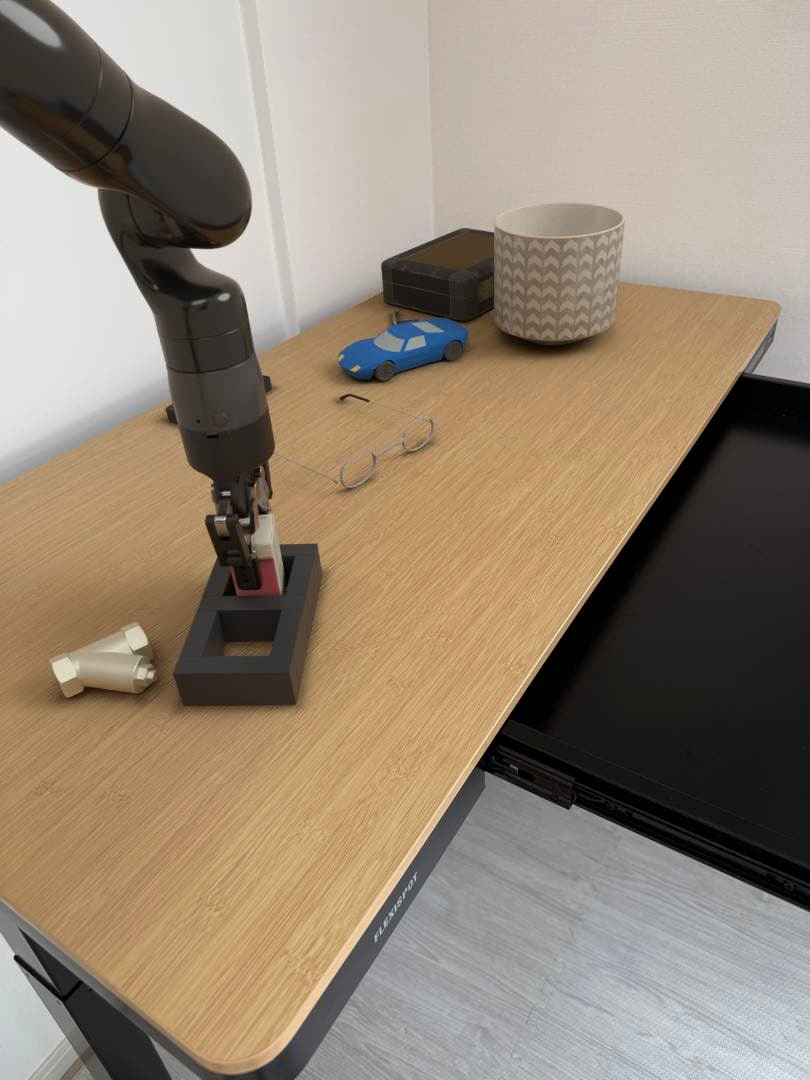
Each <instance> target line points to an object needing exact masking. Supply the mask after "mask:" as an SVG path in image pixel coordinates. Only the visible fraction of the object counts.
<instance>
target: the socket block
mask: <svg viewBox="0 0 810 1080" xmlns="http://www.w3.org/2000/svg"><path fill="white" fill-rule="evenodd" d="M279 546H280V551H281V557H282V562H283V568H284V572H285V588H286V589H285V595H259V596H237V594H236V590H235V585H234V581H233V577H232V573H231V569H230V566H228V567H221V565H220V563H219V560H218V557H217V556H216V559H215V561H214V563H213V567H212V569H211V572H210V575H209V577H208V580H207V583H206V585H205V588H204V590H203V593H202V596H201V598H200V601H199V603H198V606H197V608H196V612H195V613H194V617H193V619H192V622H191V625H190V627H189V629H188V633H187V634H186V637H185V641H184V643H183V646H182V648H181V651H180V653H179V657H178V658H177V661H176V664H175V667H174V669H173V671H172V676H173V679H174V682H175V685H176V689H177V690H178V693H179V696H180V700H181V702H182V706H183V707H207V706H208V707H211V706H214V707H215V706H216V707H218V706H294V705H297V703H298V698H299V694H300V693H299V692H300V688H301V684H302V678H303V673H304V670H305V669H304V667H305V662H306V659H307V658H306V657H307V654H308V648H309V643H310V638H311V632H312V627H313V623H314V618H315V614H316V607H317V603H318V597H319V593H320V589H321V582H322V578H323V570H322V562H321V557H320V550H319V544H318V543H317V542H316V543H284V544H283V543H282V544H281V543H279ZM229 642H230V643H231V642H233V643H234V642H235V643H236V642H272V646H271V650H270V654H269V655H223V653H224V650H225V647H226V643H229Z"/></svg>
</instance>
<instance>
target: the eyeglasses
mask: <svg viewBox="0 0 810 1080" xmlns="http://www.w3.org/2000/svg"><path fill="white" fill-rule="evenodd" d="M347 398H353V399H357V400H360V401H363V402H365V403H372V404H375V405H378V406H379V407H384V408H386V409H389V410H392V411H395V412H398V413H400V414H404V415H407V416H410V417H412V418H416V419H415V420H413V421H411V422H410V423H409V424H408V425H407V426H406V428H405V429H404V431H403V432H402V436H401V438H400V439H398V440H396V441H394V442H392V443H390V444H389V445H387V446H386V447H384V448H382V449H380V450H379V451H377V452H376V453H374V452H373V451H371V450H362V451H360V452H357V453H356V454H354V455H352V456H350V457H349V458H348V459H347V460H346V461H345V462H344V463H343V465H342V466H341V469H340V473H339V478H333V477H330V476H327V475H326V474H323V473H320V472H318V471H316V470H314V469H311V468H310V467H308V466H305V465H303V464H300V463H298V462H296V461H294V460H291V459H289V458H287V457H284V456H283V455H280V454H277V453H275V452H274V453H273V455H275V456H277V457H280V458H282V459H284V460H285V461H289V462H291V463H293V464H295V465H297V466H301V468H305V469H307V470H309V471H311V472H314V473H316V474H319V475H321V476H322V477H325V478H328V479H330V480H332V481H333V482H334V484H336V485H337V484H339V483H341V485H342V487H345V488H346V489H353V488H356V487H359V486H361V485H363V484H364V483H366V481H368V479H370V477H371V476H372V474H374V471H375V470H376V468H377V467H376V466H377V459H378V458H379V457H381V456H383V455H384V454H387V452H389V451H391V450H392V449H394V448H396V447H397V446H399V445H402V446H401V447H403V449H404V450H406V451H408V452H415V451H418V450H421V449H422V448H423V447H424V446H426V445H427V444H428V443H429V442H430V440H431V439H432V437H433V435H434V432H435V427H436V426H437V425H438V422H437V421H436V420H435V421H434V420H433V419H432V418H431V417H430V416H421V417H418V416H416V415H412V414H410V413H407V412H403V411H400V410H398V409H396V408H395V409H394V408H393V407H392V408H391V407H390V406H386V405H383V404H380V403H377V402H374V401H371V400H370V399H368V398H365V397H363V396H360V395H356V394H353V393H346V394H343V395H342V396H339V400H340V401H341V402H342V401H344V400H345V399H347ZM427 419H428V420H427ZM419 421H425V422H428V423H430V433H429V435H428V437H427V438H426V439H425V441H423V443H421V444H420V445H419V446H417V447H415V448H411V449H408V448H407V446H406V444H405V443H406V441H407V438H406V435H407V433H408V431H409V430H410V428H411V427H412V426H413V425H415V424H416V423H417V422H419ZM365 453H369V454H371V456H372V462H373V463H372V466H371V469H370V471H368V472H369V473H367V475H366V476H365V477H364V478H363V479H362V480H360V481H359V482H357V483H355V484H352V485H346V484H345V482H344V472H345V470H346V467H347V466H348V465H349V463H350V462H351V461H353V460H354V459H355V458H357V457H358V456H360V455H363V454H365Z"/></svg>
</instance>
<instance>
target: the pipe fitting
mask: <svg viewBox="0 0 810 1080" xmlns="http://www.w3.org/2000/svg"><path fill="white" fill-rule="evenodd" d="M153 659H154V653H153V649H152V647H151V645H150V643H149V640H148V638H147V635H146V634H145V632H144V629H143V628H142V626H141V625H140V624H139V622H137V621H133V622H132V623H129V624H126V625H125V626H122V627H120V630H119V631H117V632H115V633H112V634H110V635H108V636H106V637H103V638H101V639H98V640H96V641H94V642H92V643H89V644H87V645H85V646H83V647H81V648H78V649H76V650H73V651H71V652H69V653H68V652H63V653H61V654H58V655H56V656H54V657H51V658H49V661H48V662H49V664H50V667H51V669H52V671H53V673H54V676H55V677H56V679H57V682H58V684H59V686H60V688H61V691H62V693H63V695H64V697H65V698H71V697H73V696H76V695H78V694H80V693H81V692H83V691H84V688H87V687H88V688H89V687H90V688H96V689H103V690H110V691H118V692H125V693H130V694H138V695H139V694H142V693H143V692H144V691H145V690H146V688H147V687H149V686H151V685H152V684H153V683H155V682H156V681H157V680H158V677H159V674H158V670H156V669H155V667H154V665H153V664H152V663H151V661H152V660H153Z"/></svg>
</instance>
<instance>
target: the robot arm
mask: <svg viewBox="0 0 810 1080" xmlns="http://www.w3.org/2000/svg"><path fill="white" fill-rule="evenodd" d="M0 128H1V129H2V130H4V131H5V132H6V133H8V134H9V135H11V136H12V137H13V138H14V139H16V140H17V141H18V142H19V143H21V144H23V145H24V146H25V147H26V148H28V149H29V150H30V151H32V152H33V153H35V155H37V156H38V157H40V158H41V159H43V161H45V162H47V163H48V164H49V165H51V166H52V167H54V168H55V169H56V170H57V171H59V172H61V173H62V174H64V175H65V176H66V177H68V178H69V179H70V180H73V181H75V182H77V183H80V184H82V185H84V186H88V187H91V188H96V189H97V201H98V204H99V209H100V213H101V214H100V215H101V217H102V220H103V222H104V225H105V227H106V230H107V232H108V234H109V236H110V238H111V241H112V242H113V244H114V246H115V248H116V250H117V251H118V253H119V255H120V257H121V259H122V261H123V263H124V264H125V266H126V268H127V270H128V272H129V273H130V275H131V277H132V280H133V282H134V283H135V285H136V287H137V289H138V290H139V292H140V294H141V295H142V297H143V299H144V301H145V302H146V304H147V306H148V307H149V309H150V311H151V313H152V315H153V319H154V322H155V328H156V332H157V335H158V340H159V343H160V348H161V352H162V355H163V359H164V362H165V367H166V374H167V375H166V376H167V384H168V392H169V395H170V399H171V404H173V407H174V411H175V415H176V419H177V422H178V423H177V425H178V426H177V427H178V430H179V433H180V437H181V441H182V445H183V449H184V452H185V453H184V454H185V456H186V460H187V463H188V465H189V466H190V467H191V468H192V469H193V471H195V472H197V473H199V474H202V475H204V476H206V477H208V479H210V480H212V482H211V484H210V495H211V501H212V503H213V504H214V506H215V513H214V514H206V515H205V519H204V525H205V528H206V530H207V533H208V536H209V538H210V541H211V544H212V547H213V550H214V551H215V555H216V558H217V557H218V560H219V563H220V565H221V567H228V566H233V569H234V574H235V578H236V582H237V586H238V588H239V589H240V590H259V589H261V586H262V583H263V580H262V576H261V571H260V567H259V562H258V557H257V550H256V544H255V533H256V532H257V531H258V530H259V515H264V514H271V511H272V508H271V507H272V506H271V505H270V502H269V500H272V499H273V494H274V491H273V488H272V480H271V479H272V478H271V472H270V463H269V460H270V459H272V456H273V455H274V454H273V453H275V449H276V440H275V435H274V429H273V424H272V419H271V413H270V407H269V403H268V397H267V392H265V386H264V380H263V372H262V368H261V365H260V363H259V359H258V357H257V353H256V350H255V344H254V340H253V339H254V337H253V333H252V327H251V321H250V317H249V311H248V305H247V301H246V297H245V293H244V291H243V289H242V286H241V285H240V284H239V283H238V282H237V281H236V280H235V279H234V278H232V277H231V276H229V275H227V274H224V273H221V272H218V271H216V270H214V269H211V268H209V267H207V266H205V265H204V264H203V263H202V262H200V261H199V260H198V259H197V257H196V256H195V254H194V253H193V251H192V249H193V250H218V249H222V248H225V247H228V246H230V245H232V244H234V243H235V242H236V241H237V240H238V239H239V238H240V237H241V236H242V235H243V234H244V233H245V231H246V230H247V227H248V226H249V223H250V220H251V217H252V212H253V194H252V187H251V184H250V180H249V177H248V175H247V172H246V170H245V168H244V166H243V164H242V162H241V161H240V159H239V158H238V156H237V155H236V154H235V152H234V151H233V150H232V149H231V148H230V146H229V145H228V144H227V143H226V142H225V141H224V140H223V139H222V138H221V137H220V136H218V134H216V133H215V132H214V131H212V130H211V129H210V128H208V127H207V126H205V125H204V124H203V123H201V122H199V121H197V119H195V118H193V117H192V116H190V115H188V114H187V113H185V112H184V111H182V110H181V109H179V108H177V107H176V106H175V105H172V104H171V103H170V102H169V101H166V100H165V99H163V98H161V97H160V96H157V95H156V94H154V93H152V92H151V91H148V90H147V89H145V88H143V87H142V86H140V85H138V84H137V83H136V82H135V81H134V80H133V79H132V78H131V77H130V76H129V75H128V74H127V72H126V71H125V70H124V69H123V68H122V67H121V66H120V65H119V64H118V63H117V62H116V61H115V60H114V59H113V58H112V57H111V56H110V55H109V54H108V53H107V51H105V49H103V47H101V46H100V45H99V43H97V42H96V40H94V39H93V38H92V37H91V35H90V34H88V32H86V31H85V29H83V27H82V26H80V25H79V23H78V22H77V21H76V20H74V19H73V18H72V17H71V16H70V15H69V14H68V13H66V11H65V10H63V9H62V8H61V7H60V6H58V5H57V4H56V3H55V2H53V1H52V0H0ZM246 518H249V519H250V523H242V522H241V519H246ZM244 535H245V536H246V539H245V536H244ZM246 541H247V542H246Z"/></svg>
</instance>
